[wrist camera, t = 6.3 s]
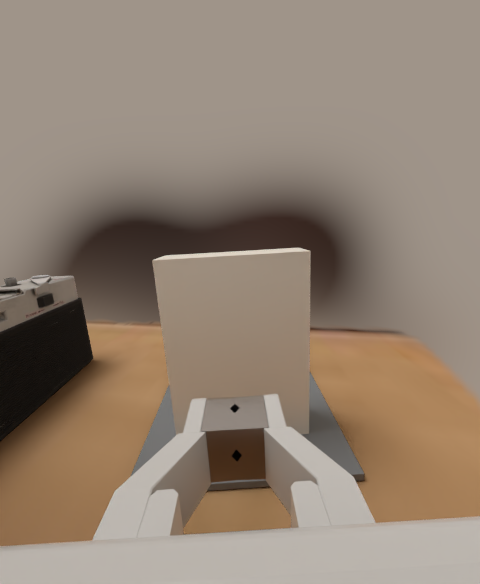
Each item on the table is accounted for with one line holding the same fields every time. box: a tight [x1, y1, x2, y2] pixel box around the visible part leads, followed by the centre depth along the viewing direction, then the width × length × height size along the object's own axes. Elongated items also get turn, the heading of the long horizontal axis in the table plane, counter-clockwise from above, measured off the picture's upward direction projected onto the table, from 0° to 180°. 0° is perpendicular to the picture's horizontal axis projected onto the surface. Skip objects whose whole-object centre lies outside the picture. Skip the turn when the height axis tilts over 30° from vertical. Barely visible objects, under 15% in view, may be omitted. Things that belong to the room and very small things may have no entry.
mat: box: [131, 373, 364, 491], centre depth 22 cm, size 12×18×1 cm, turn 1°
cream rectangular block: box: [152, 248, 310, 435], centre depth 16 cm, size 8×3×11 cm, turn 91°
